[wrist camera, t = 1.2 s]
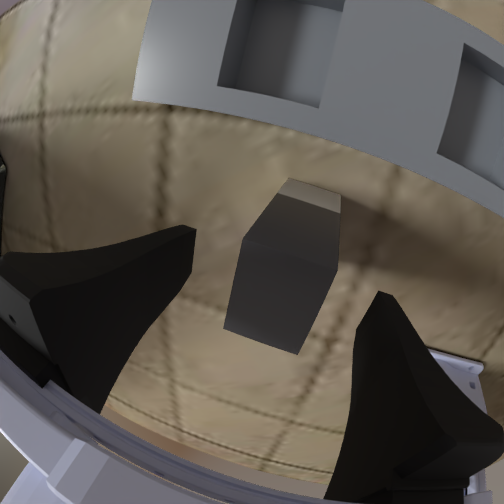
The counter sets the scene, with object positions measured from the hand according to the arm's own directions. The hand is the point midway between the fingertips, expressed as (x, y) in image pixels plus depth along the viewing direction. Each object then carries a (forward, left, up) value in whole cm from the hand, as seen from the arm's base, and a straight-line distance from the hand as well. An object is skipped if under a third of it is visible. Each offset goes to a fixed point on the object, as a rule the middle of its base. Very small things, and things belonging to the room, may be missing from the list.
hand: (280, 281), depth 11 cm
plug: (0, 0, -7) cm, 7 cm away
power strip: (-2, -9, -7) cm, 11 cm away
